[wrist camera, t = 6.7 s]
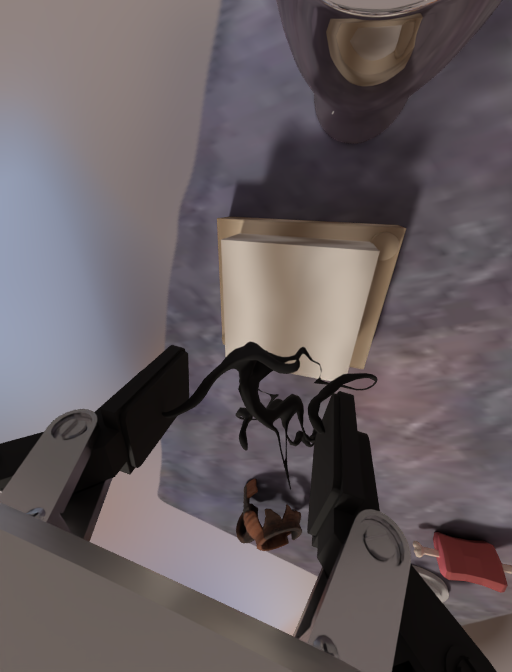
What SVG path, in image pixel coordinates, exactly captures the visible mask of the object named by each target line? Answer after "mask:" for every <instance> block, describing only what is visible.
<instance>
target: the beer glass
mask: <svg viewBox="0 0 512 672" xmlns="http://www.w3.org/2000/svg"><path fill="white" fill-rule="evenodd" d="M502 1H503V0H276V2H277V6H278V10H279V14H280V18H281V22H282V26H283V30H284V33H285V36H286V39H287V41H288V44H289V47H290V50H291V52H292V55H293V58H294V60H295V63H296V65H297V67H298V69H299V71H300V73H301V75H302V76H303V78H304V80H305V81H306V83H307V84H308V86H309V87H310V88H311V90H312V91H313V93H314V104H315V111H316V115H317V118H318V120H319V123H320V125H321V127H322V128H323V130H324V131H325V132H326V133H327V134H328V135H329V136H330V137H331V138H333V139H334V140H336V141H338V142H341V143H346V144H358V143H362V142H366V141H368V140H370V139H372V138H374V137H376V136H378V135H379V134H381V133H382V132H383V131H384V130H386V129H387V128H388V127H389V126H390V125H391V124H392V123H393V122H394V120H395V119H396V118H397V117H398V115H399V114H400V112H401V111H402V109H403V108H404V106H405V104H406V102H407V101H408V98H409V97H410V96H411V95H412V94H414V93H415V92H416V91H418V90H419V89H420V88H421V87H423V86H424V85H425V84H426V83H428V82H429V81H430V80H431V79H433V78H434V77H435V76H436V75H437V74H438V73H439V72H440V71H442V70H443V69H444V68H445V67H446V66H447V65H448V64H449V63H450V62H451V61H452V59H453V58H454V57H455V56H456V55H457V54H458V53H459V52H460V51H461V50H462V48H463V47H464V46H465V45H466V44H467V43H468V42H469V41H470V40H471V39H472V37H473V36H474V35H475V34H476V33H477V32H478V31H479V30H480V28H481V27H482V26H483V25H484V24H485V22H486V21H487V20H488V19H489V17H490V16H491V15H492V13H493V12H494V11H495V10H496V8H497V7H498V6H499V4H500V3H501V2H502Z"/></svg>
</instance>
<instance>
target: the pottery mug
mask: <svg viewBox="0 0 512 672" xmlns="http://www.w3.org/2000/svg"><path fill="white" fill-rule="evenodd" d="M257 492H258V489H257V486H256V479H253V480H251V481H249V482H248V483H247V485H245V487H244V509H243V513H242V514H241V516H240V518H239V520H238V523H237V527H236V533H237V537H238V539H239V540H240V542H241V543H250V542H252V541H254V540H256V544H257V549H259V550H262V551H269V550H273V549H276V548H279V547H282V546H284V545H286V544H288V543H289V542H288V538H287V536H288V535H289V534H291V535H292V540H295V539H296V538H298V537H299V536H300V535H301V533H302V529H301V527H300V524H299V523H300V520H301V513H300V512H298V511H296V510H295V511H293V510H291V508H290V507H289V505H288V504H286V510H285V513H284V515H283V518H282V519H281V517H280V516H279V515H278V514H277V513H275V512H273V511H272V510H271V509H265V515H266V517H265V523H264V526H263V527H262V525H261V524H260V522H259V519H258V508H257V507H255V506H254V505H253V504H250V503H249V500H250V498H251V497H252V496H253V495H254V494H255V493H257Z"/></svg>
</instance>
